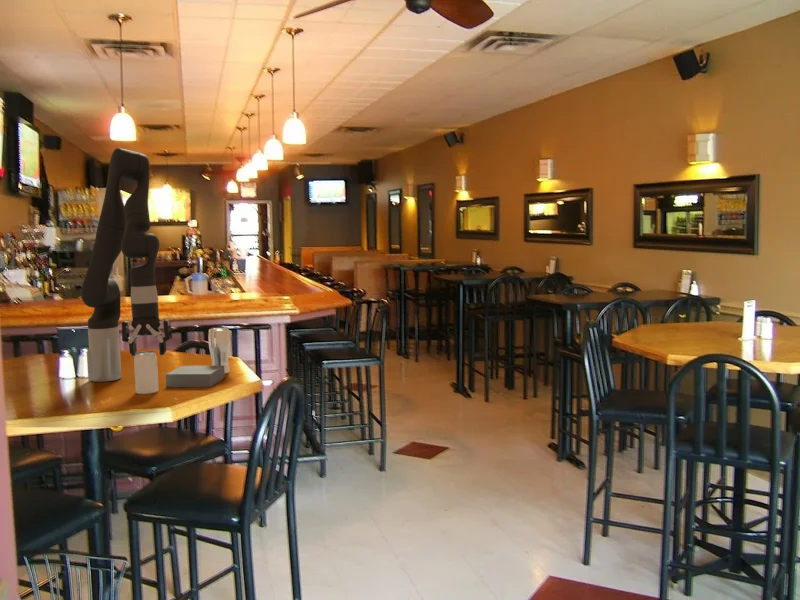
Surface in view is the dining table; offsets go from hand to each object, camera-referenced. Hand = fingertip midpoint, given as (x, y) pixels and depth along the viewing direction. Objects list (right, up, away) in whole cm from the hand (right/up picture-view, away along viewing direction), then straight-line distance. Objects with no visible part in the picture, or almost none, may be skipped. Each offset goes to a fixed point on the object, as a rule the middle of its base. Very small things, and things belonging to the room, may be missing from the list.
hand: (148, 355), depth 212 cm
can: (-1, -11, +1) cm, 11 cm away
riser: (+10, -10, +14) cm, 20 cm away
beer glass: (+14, -8, +29) cm, 33 cm away
